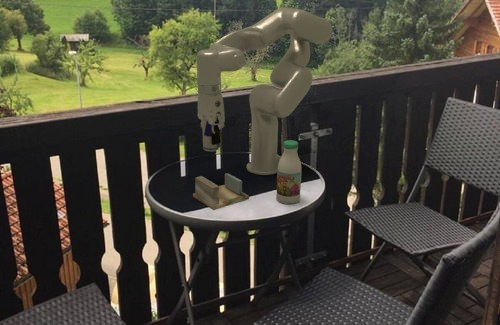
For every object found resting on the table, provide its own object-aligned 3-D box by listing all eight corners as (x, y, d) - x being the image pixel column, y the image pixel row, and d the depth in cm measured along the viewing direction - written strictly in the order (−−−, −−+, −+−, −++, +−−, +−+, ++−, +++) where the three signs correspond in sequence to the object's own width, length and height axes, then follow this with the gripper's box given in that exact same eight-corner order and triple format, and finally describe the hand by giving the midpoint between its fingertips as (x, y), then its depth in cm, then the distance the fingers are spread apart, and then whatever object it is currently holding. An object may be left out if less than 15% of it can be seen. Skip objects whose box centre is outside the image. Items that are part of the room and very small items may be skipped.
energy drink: (216, 152, 181) (215, 118, 177) (201, 151, 182) (199, 116, 178) (221, 146, 186) (220, 113, 181) (206, 145, 187) (204, 111, 182)
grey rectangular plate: (227, 185, 185) (227, 173, 183) (246, 196, 177) (246, 183, 176) (224, 186, 184) (224, 173, 183) (243, 197, 177) (243, 184, 175)
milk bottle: (277, 193, 183) (280, 137, 176) (300, 195, 182) (304, 139, 174) (274, 203, 176) (277, 145, 169) (298, 205, 175) (302, 147, 167)
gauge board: (227, 186, 188) (227, 167, 185) (248, 198, 179) (249, 179, 176) (193, 196, 180) (192, 176, 177) (213, 209, 171) (213, 189, 168)
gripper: (234, 92, 172) (234, 146, 179) (205, 81, 185) (207, 132, 192) (213, 96, 168) (215, 151, 175) (186, 84, 180) (188, 136, 187)
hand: (211, 140), depth 183 cm, fingers closed on energy drink, 5 cm apart
